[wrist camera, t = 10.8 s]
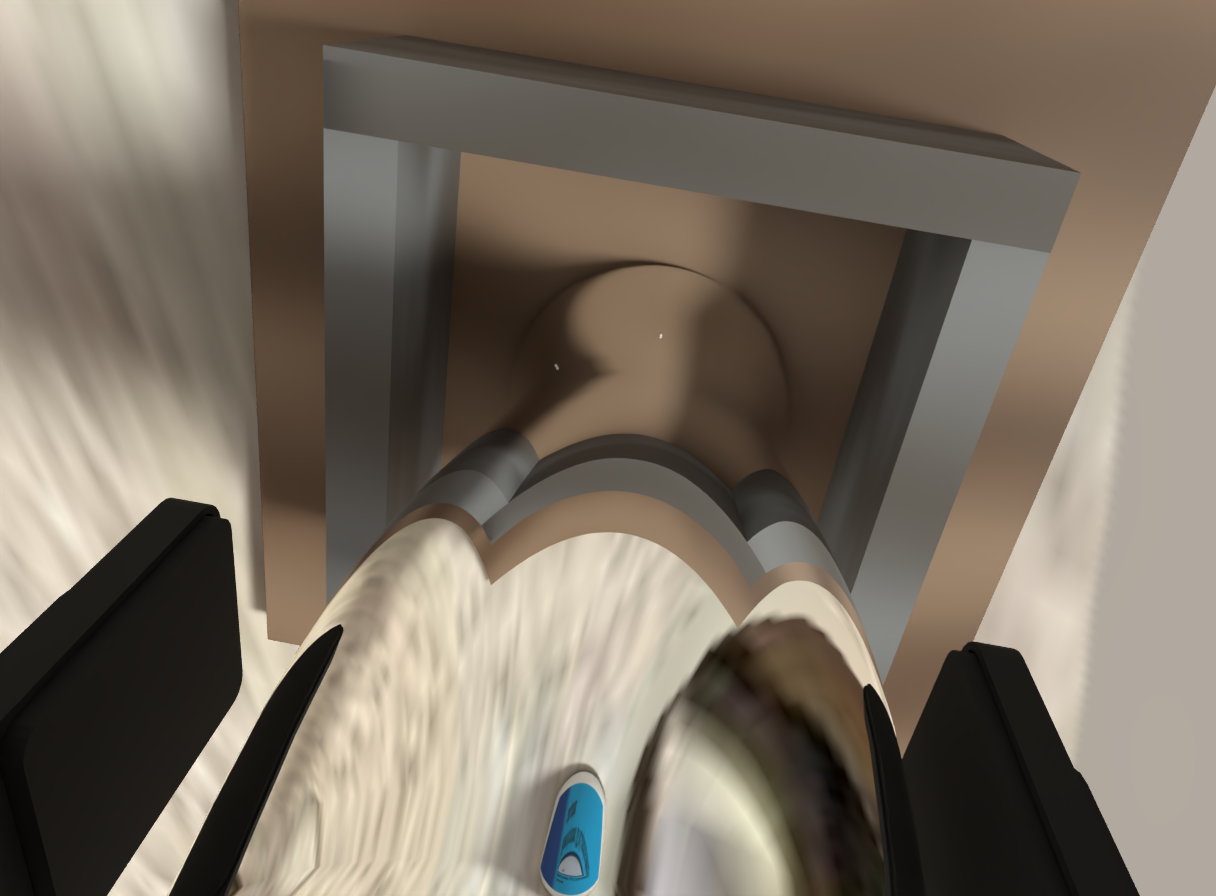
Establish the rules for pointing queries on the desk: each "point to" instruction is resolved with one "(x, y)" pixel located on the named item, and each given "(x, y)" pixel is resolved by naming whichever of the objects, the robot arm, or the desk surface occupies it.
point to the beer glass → (587, 651)
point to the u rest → (709, 247)
